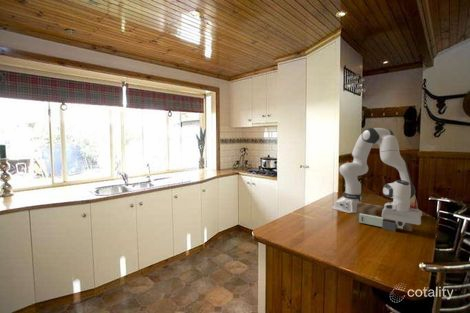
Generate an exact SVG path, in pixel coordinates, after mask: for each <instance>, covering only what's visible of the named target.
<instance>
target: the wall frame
mask: <svg viewBox="0 0 470 313" xmlns="http://www.w3.org/2000/svg"><path fill="white" fill-rule="evenodd" d="M383 209H384V205H378V204H377V205H376V204H373V203H372V204H371V203H366V202H365V203H364V202H361V203H360V202H357V213H356V215H355V216H356V219H355V220H356V221H359V214H360V213H361V214H367V215H372V216H377V211H383ZM392 221H394V220H392ZM398 224H399V225H402V222H400V221H398ZM396 229H400V230H405V231H409V232H412V231H413V224H410V223H405V225H404V226H403V229H401V228H397V226H396Z"/></svg>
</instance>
